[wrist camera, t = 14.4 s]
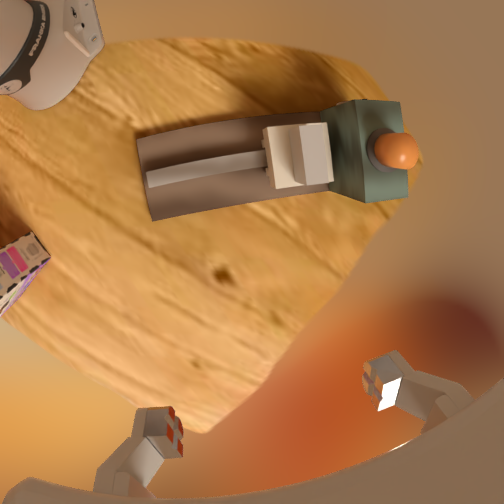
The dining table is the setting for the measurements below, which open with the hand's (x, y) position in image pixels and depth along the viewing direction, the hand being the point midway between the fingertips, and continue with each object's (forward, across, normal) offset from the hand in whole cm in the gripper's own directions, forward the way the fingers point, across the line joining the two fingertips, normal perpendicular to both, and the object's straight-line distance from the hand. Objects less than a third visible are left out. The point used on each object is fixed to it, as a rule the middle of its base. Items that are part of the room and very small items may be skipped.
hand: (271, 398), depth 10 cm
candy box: (+30, +36, -1) cm, 47 cm away
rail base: (+30, -6, -8) cm, 32 cm away
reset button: (+18, -17, -8) cm, 26 cm away
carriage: (+28, -9, -8) cm, 31 cm away
